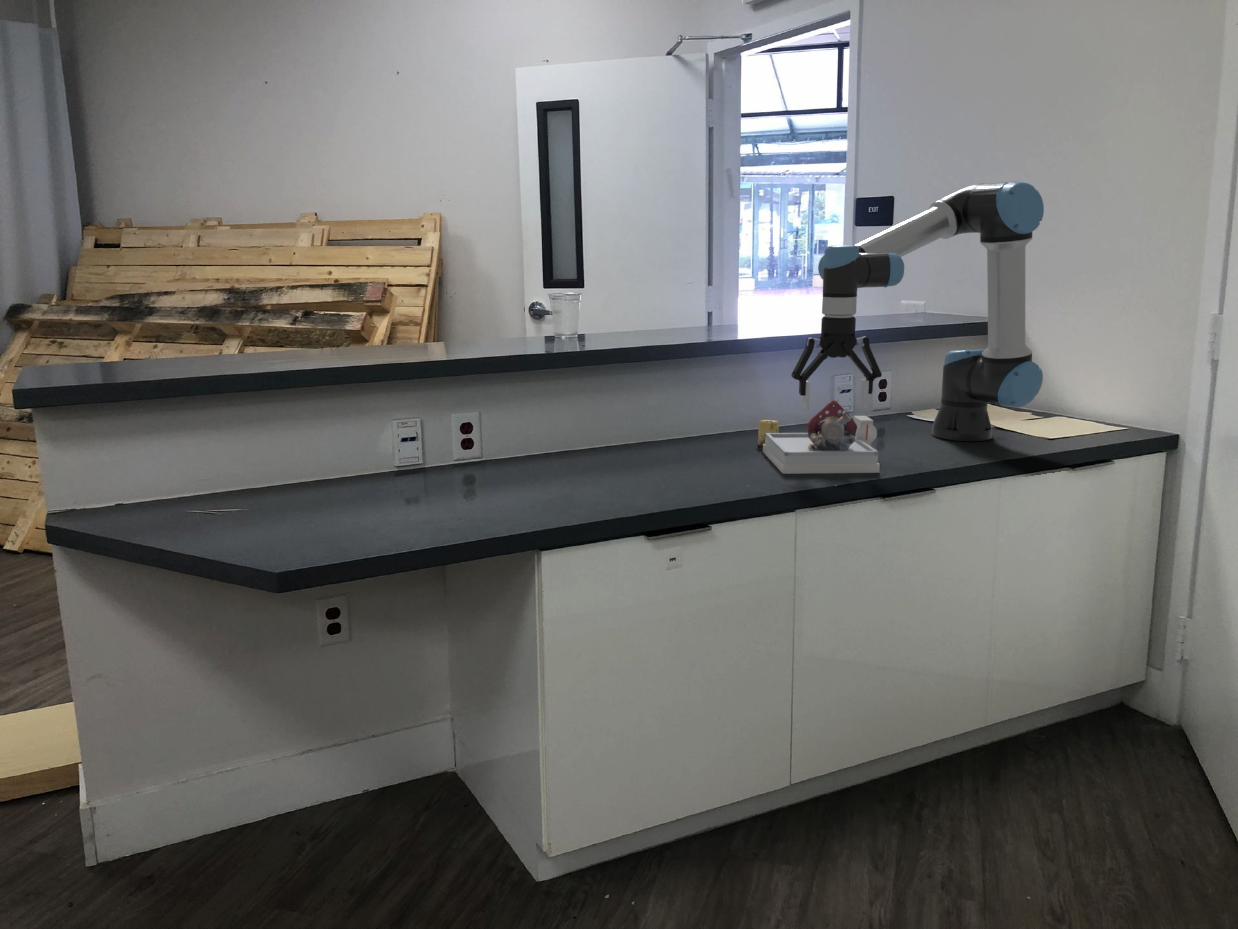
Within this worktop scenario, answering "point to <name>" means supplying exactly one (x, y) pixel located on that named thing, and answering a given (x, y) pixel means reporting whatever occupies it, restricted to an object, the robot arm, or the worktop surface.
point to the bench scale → (823, 452)
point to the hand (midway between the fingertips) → (835, 409)
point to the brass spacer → (766, 429)
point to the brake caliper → (832, 429)
